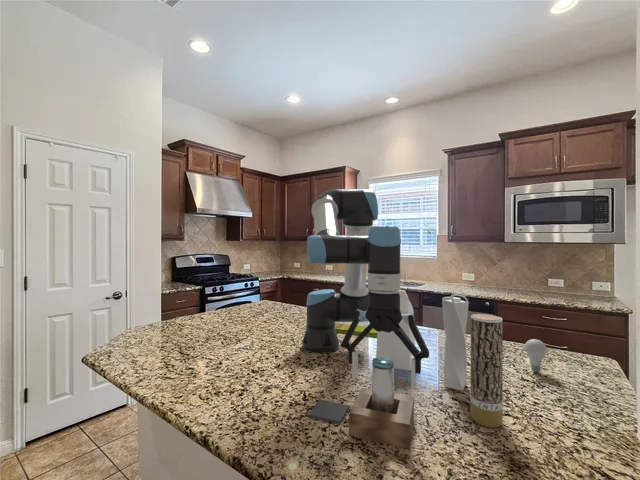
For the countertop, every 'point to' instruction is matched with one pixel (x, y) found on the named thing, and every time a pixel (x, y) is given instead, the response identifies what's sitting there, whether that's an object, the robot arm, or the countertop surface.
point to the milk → (397, 339)
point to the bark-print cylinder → (487, 369)
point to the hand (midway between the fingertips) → (383, 382)
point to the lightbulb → (535, 353)
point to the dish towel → (359, 329)
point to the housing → (382, 420)
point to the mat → (329, 411)
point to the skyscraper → (455, 341)
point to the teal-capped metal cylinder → (383, 385)
